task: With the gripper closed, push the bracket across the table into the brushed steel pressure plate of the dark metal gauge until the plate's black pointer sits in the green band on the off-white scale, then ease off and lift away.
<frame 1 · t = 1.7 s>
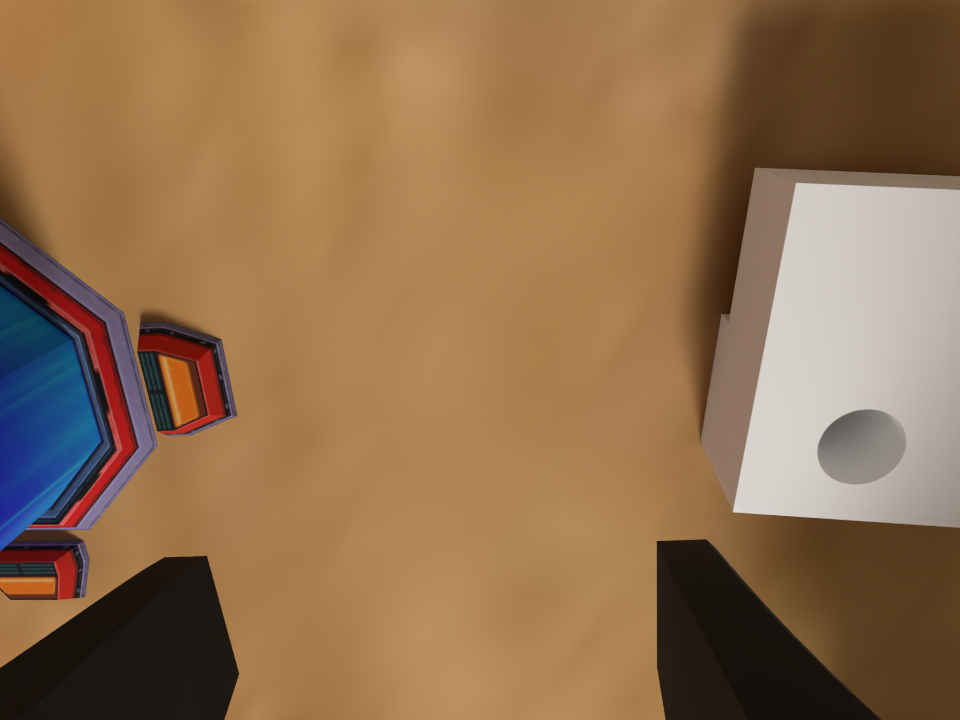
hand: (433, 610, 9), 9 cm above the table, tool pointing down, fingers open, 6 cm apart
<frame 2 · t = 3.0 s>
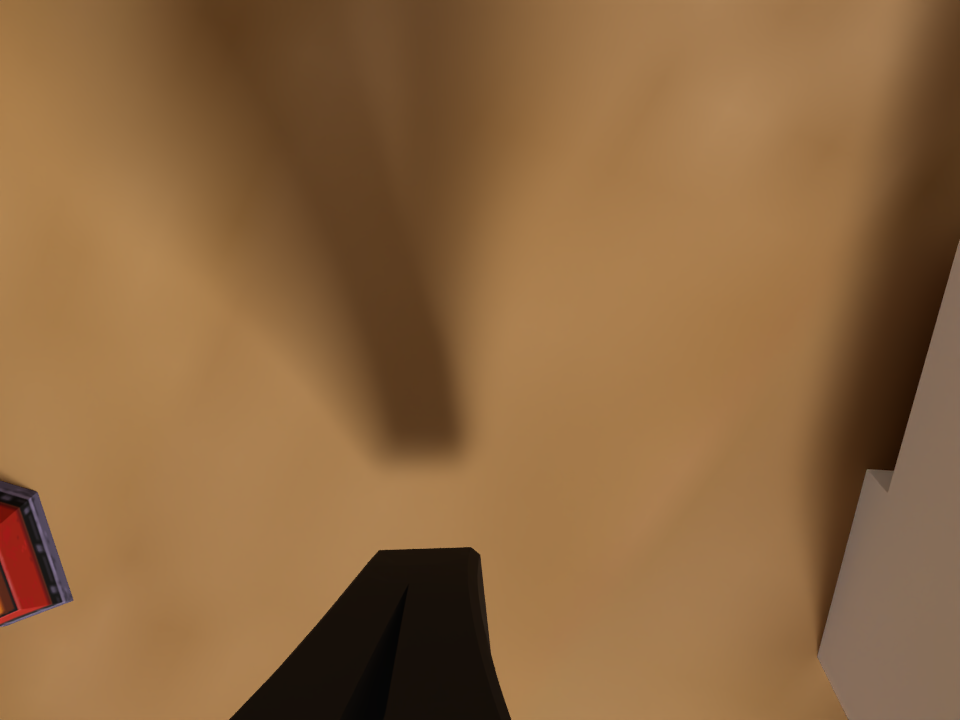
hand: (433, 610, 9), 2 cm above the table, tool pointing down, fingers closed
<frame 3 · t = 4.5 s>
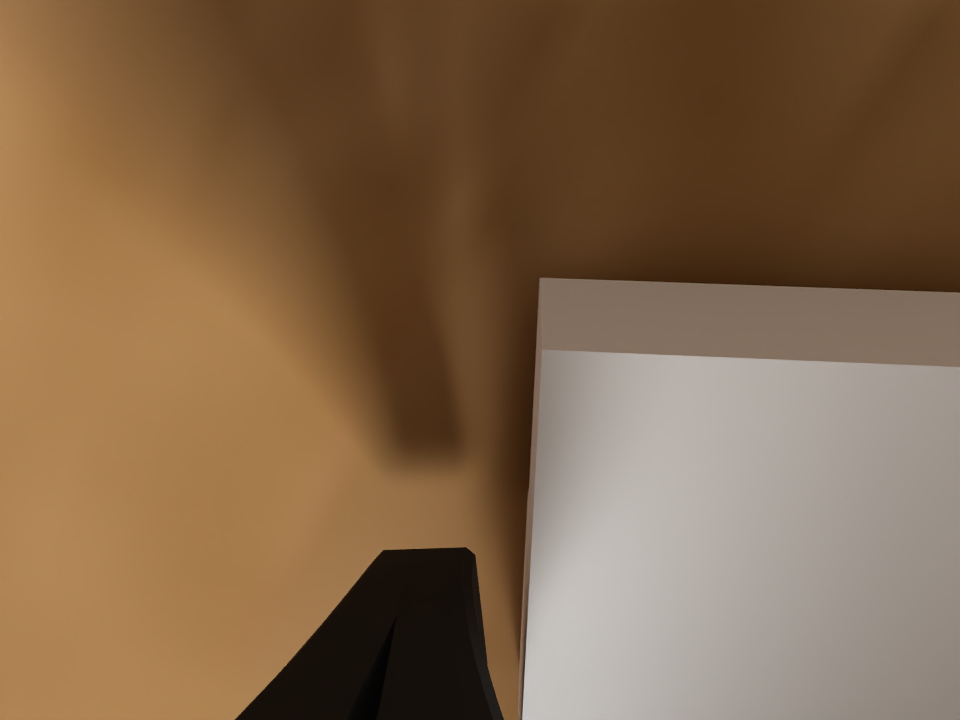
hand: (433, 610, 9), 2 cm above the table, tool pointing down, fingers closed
bracket: (952, 499, 11), on the table, touching gripper
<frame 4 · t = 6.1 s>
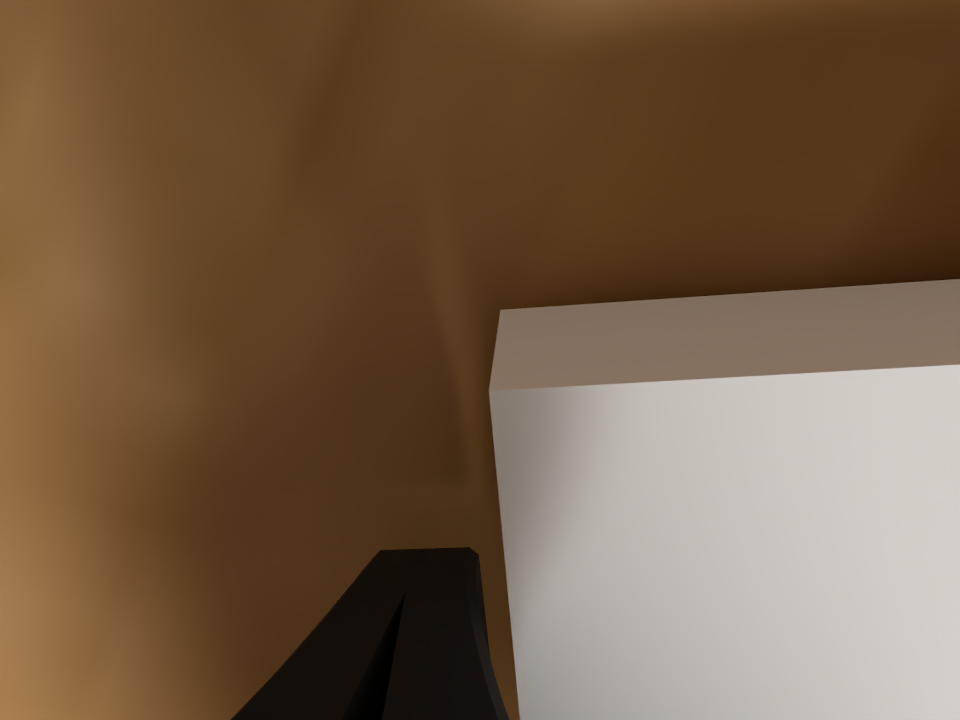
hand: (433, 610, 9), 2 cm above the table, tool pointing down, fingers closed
bracket: (945, 480, 11), on the table, touching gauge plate
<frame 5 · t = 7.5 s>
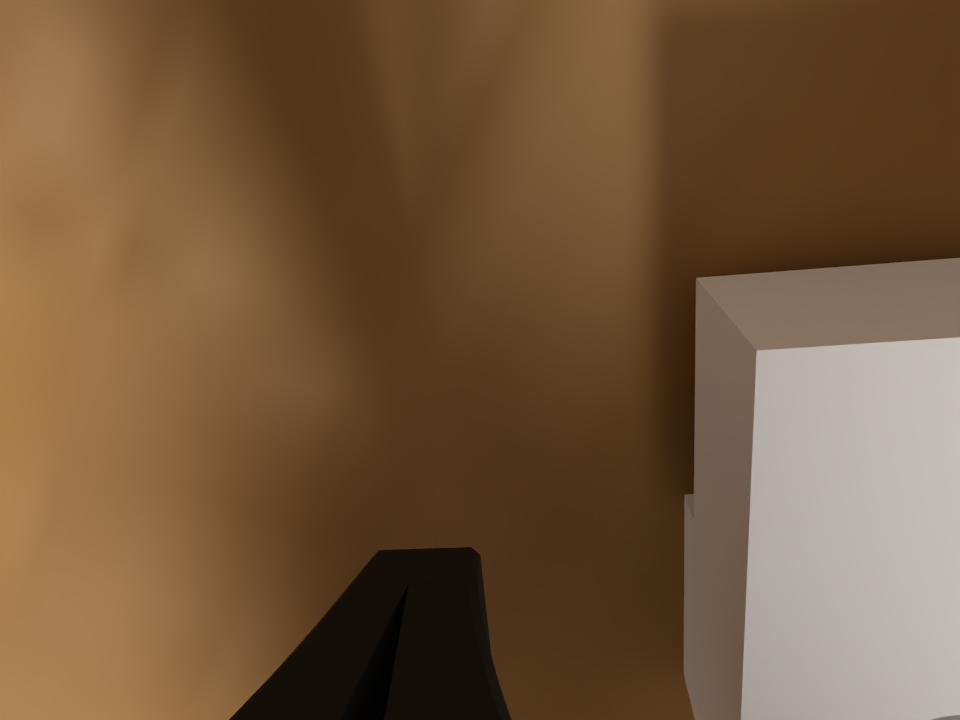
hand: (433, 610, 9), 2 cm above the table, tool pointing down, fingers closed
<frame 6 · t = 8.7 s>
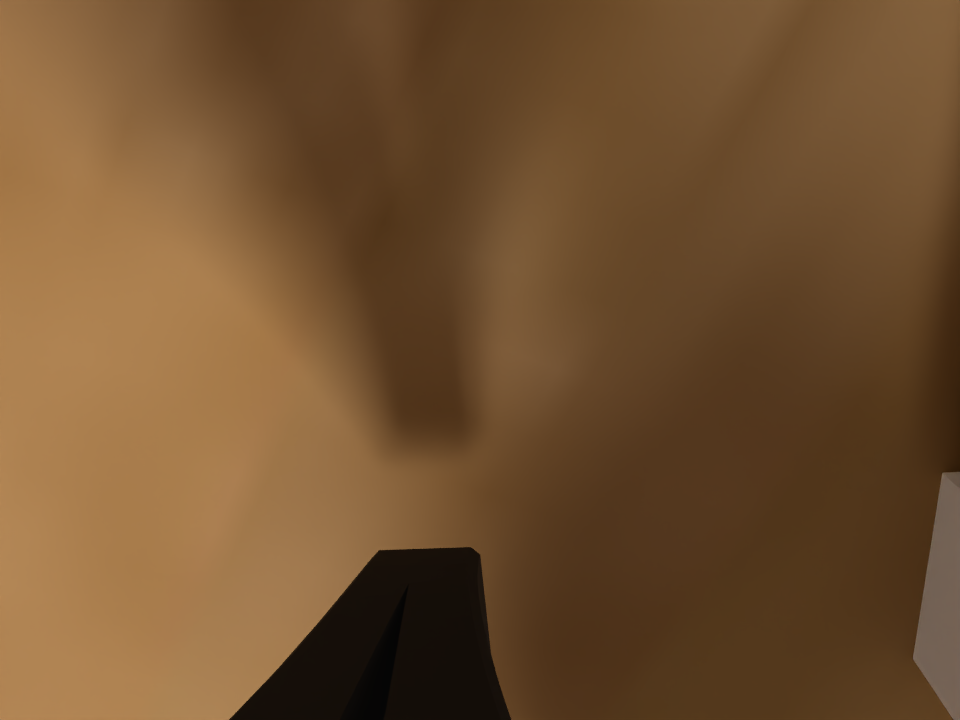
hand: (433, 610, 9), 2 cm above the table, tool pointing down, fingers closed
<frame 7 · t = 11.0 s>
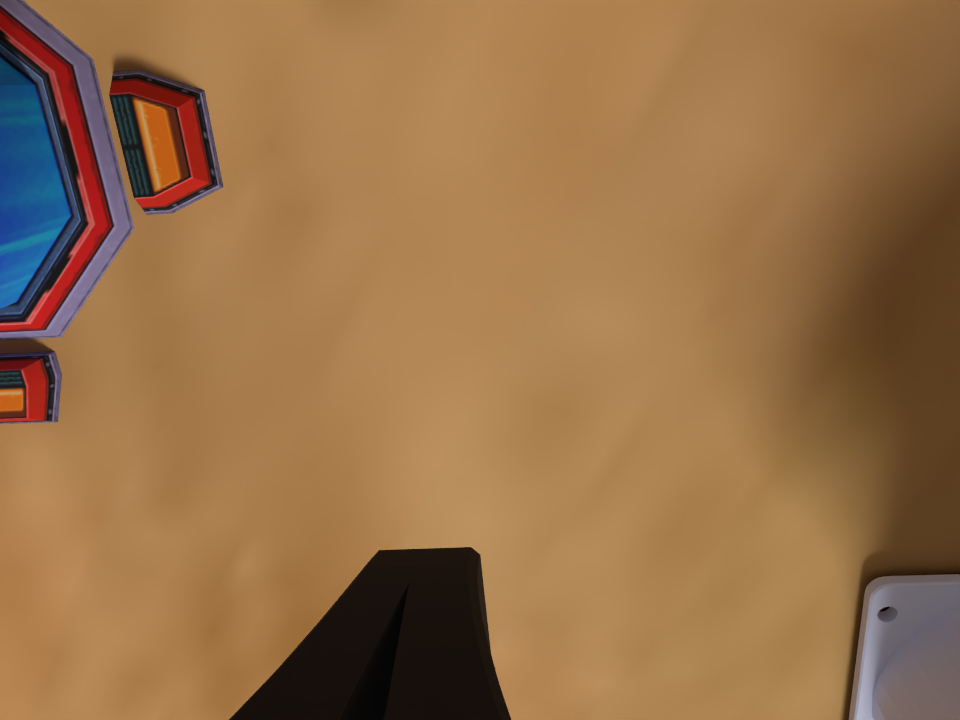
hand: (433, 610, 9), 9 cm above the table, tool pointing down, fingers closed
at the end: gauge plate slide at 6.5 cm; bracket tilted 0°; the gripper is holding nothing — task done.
